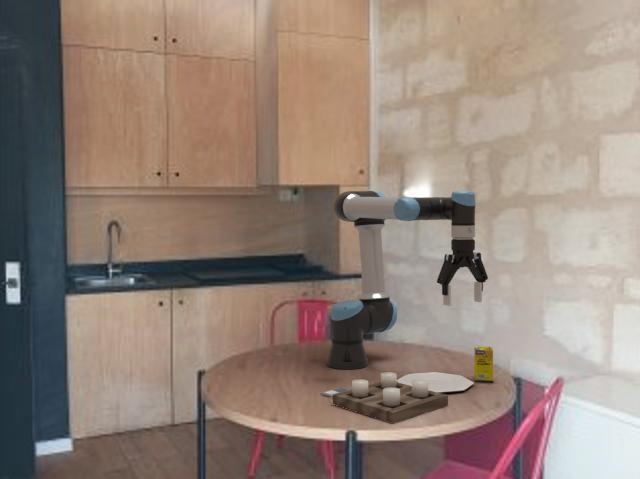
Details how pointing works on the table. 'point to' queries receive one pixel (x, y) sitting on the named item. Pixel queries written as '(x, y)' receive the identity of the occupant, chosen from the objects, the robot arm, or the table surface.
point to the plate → (439, 381)
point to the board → (392, 414)
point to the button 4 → (419, 388)
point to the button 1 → (360, 388)
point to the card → (334, 391)
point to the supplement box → (483, 364)
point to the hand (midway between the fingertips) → (462, 303)
